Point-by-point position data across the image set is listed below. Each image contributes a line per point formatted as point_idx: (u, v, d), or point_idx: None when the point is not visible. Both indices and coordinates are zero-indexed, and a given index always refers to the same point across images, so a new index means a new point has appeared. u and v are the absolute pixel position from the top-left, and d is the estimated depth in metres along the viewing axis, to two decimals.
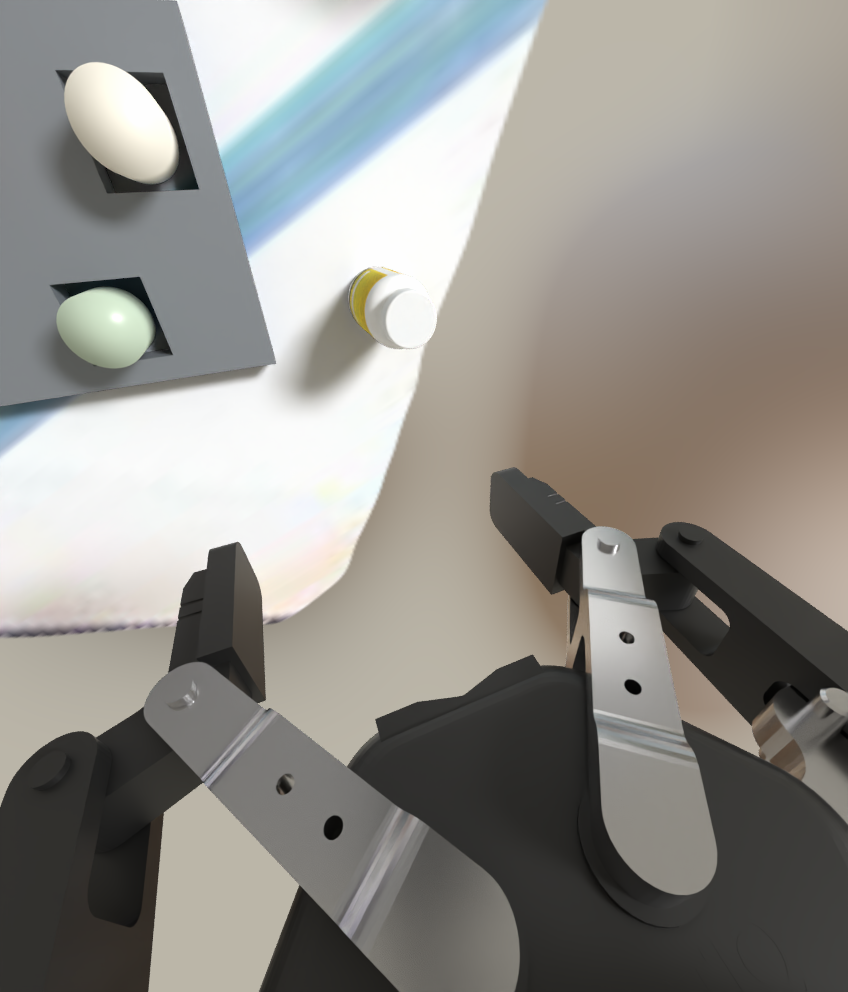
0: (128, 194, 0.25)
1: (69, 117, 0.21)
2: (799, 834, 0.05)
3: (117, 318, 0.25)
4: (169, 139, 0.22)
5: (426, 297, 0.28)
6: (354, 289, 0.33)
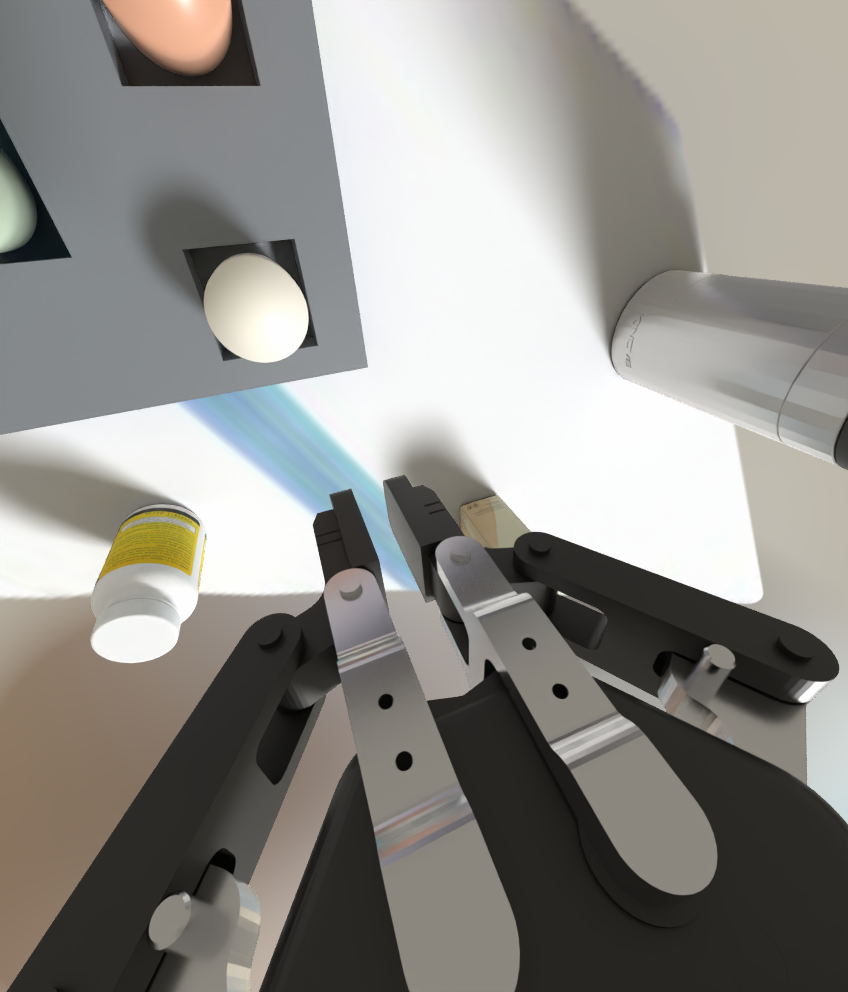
0: (190, 277, 0.20)
1: (249, 256, 0.18)
2: (790, 826, 0.05)
3: None
4: (259, 361, 0.20)
5: (173, 643, 0.23)
6: (166, 520, 0.26)
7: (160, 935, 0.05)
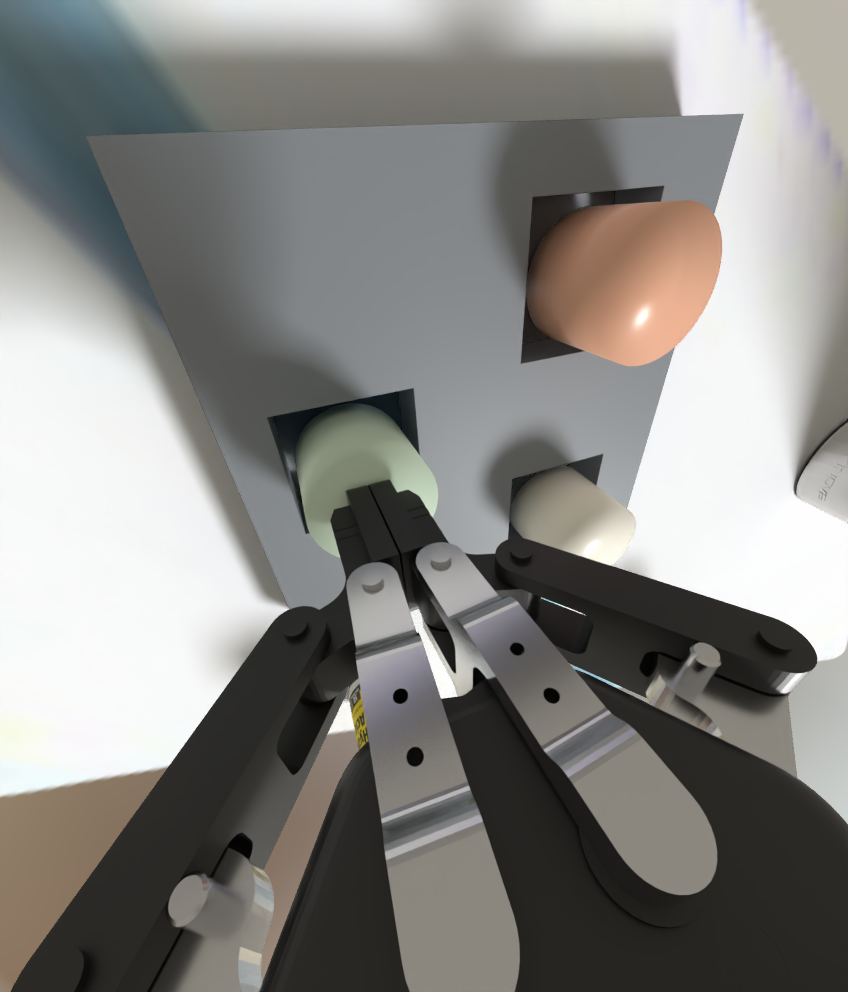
0: (509, 498, 0.20)
1: (606, 505, 0.18)
2: (788, 825, 0.05)
3: None
4: None
5: None
6: None
7: (178, 913, 0.05)
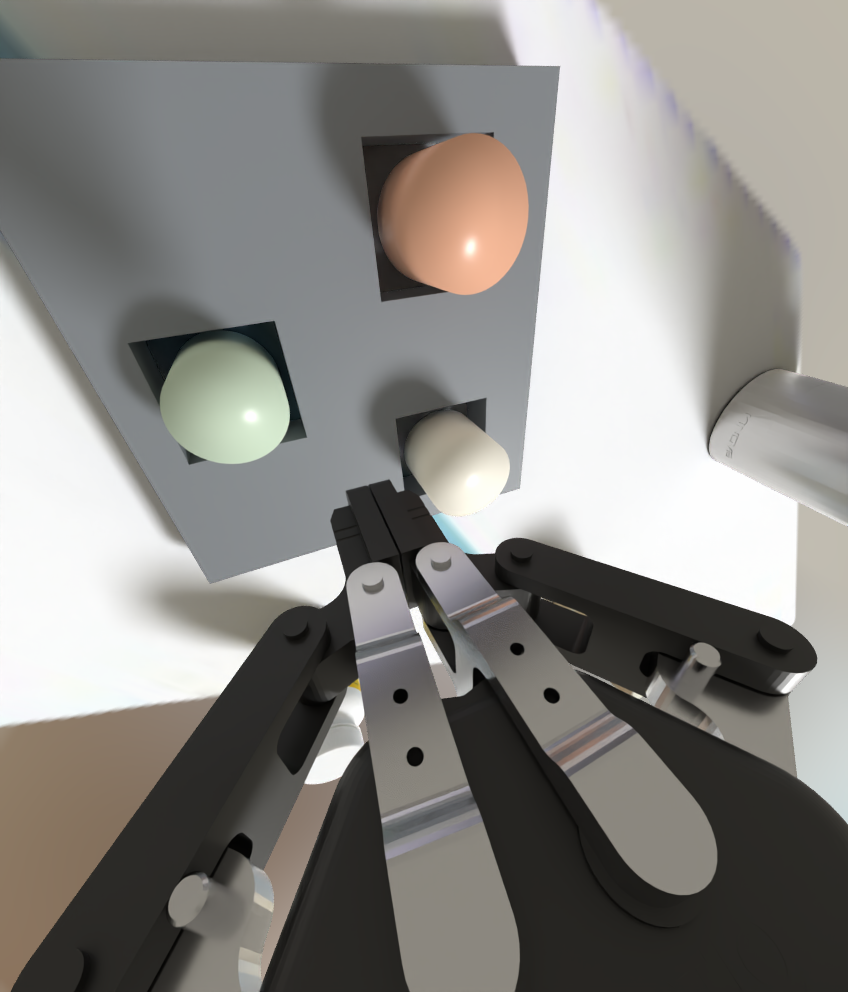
0: (396, 438, 0.21)
1: (474, 438, 0.19)
2: (788, 825, 0.05)
3: (257, 435, 0.16)
4: (459, 514, 0.21)
5: None
6: None
7: (178, 912, 0.05)
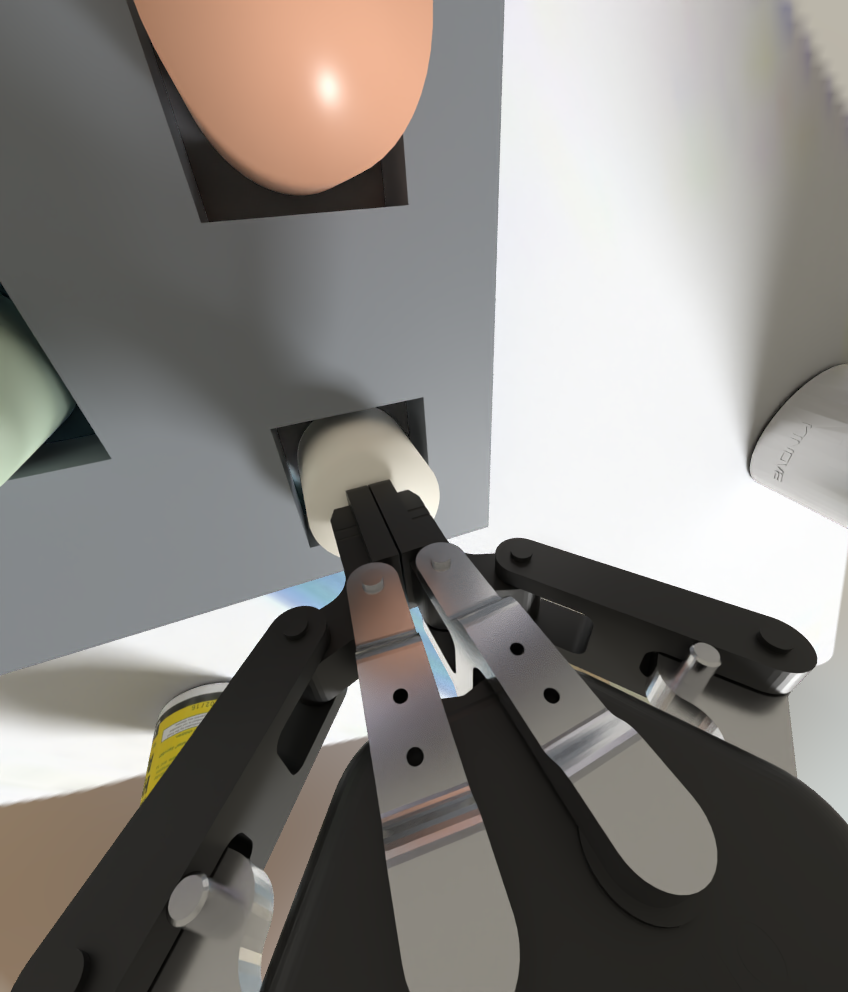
0: (277, 460, 0.14)
1: (374, 446, 0.12)
2: (788, 825, 0.05)
3: None
4: None
5: None
6: None
7: (178, 913, 0.05)
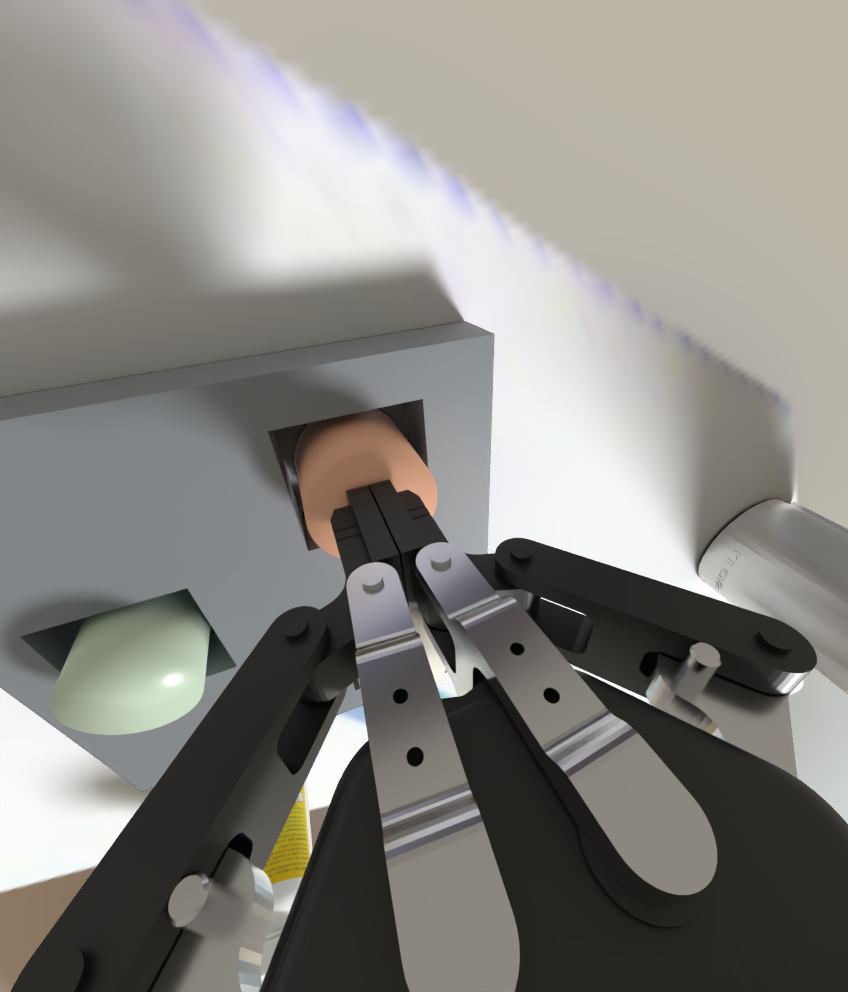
0: None
1: None
2: (788, 824, 0.05)
3: (169, 705, 0.15)
4: None
5: None
6: None
7: (179, 913, 0.05)
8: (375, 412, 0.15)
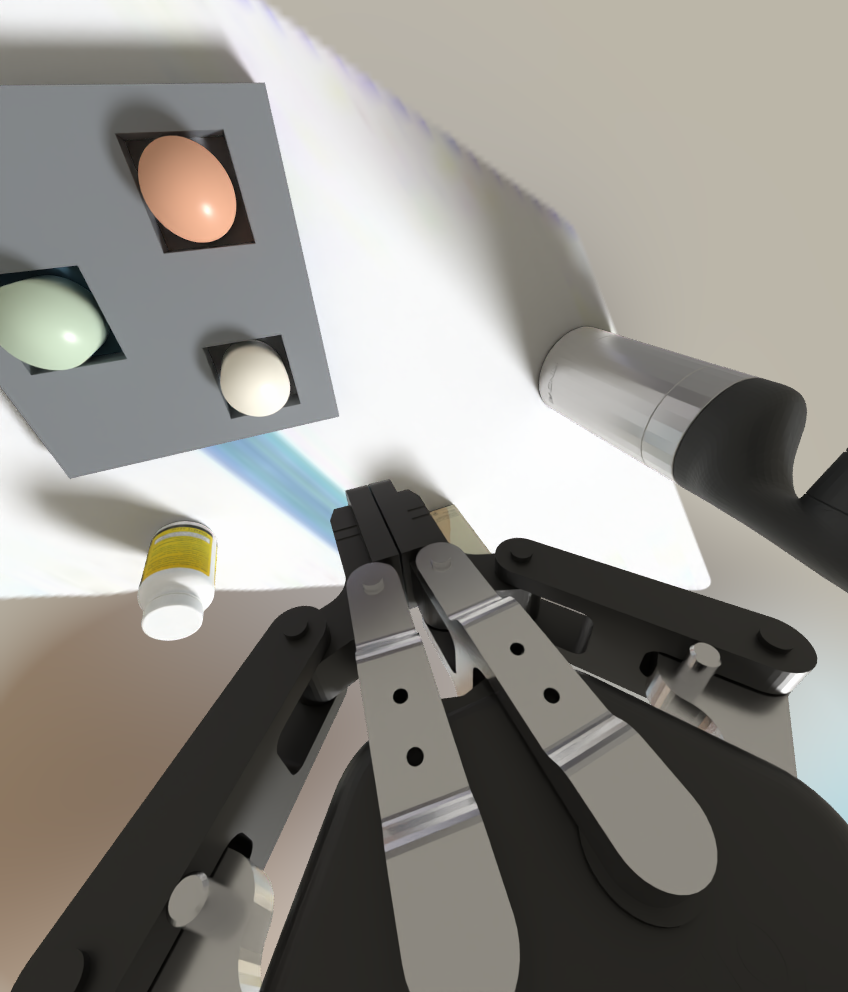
0: (207, 365, 0.28)
1: (249, 352, 0.27)
2: (788, 825, 0.05)
3: (69, 348, 0.23)
4: (257, 415, 0.29)
5: (199, 626, 0.31)
6: (188, 534, 0.34)
7: (179, 913, 0.05)
8: None
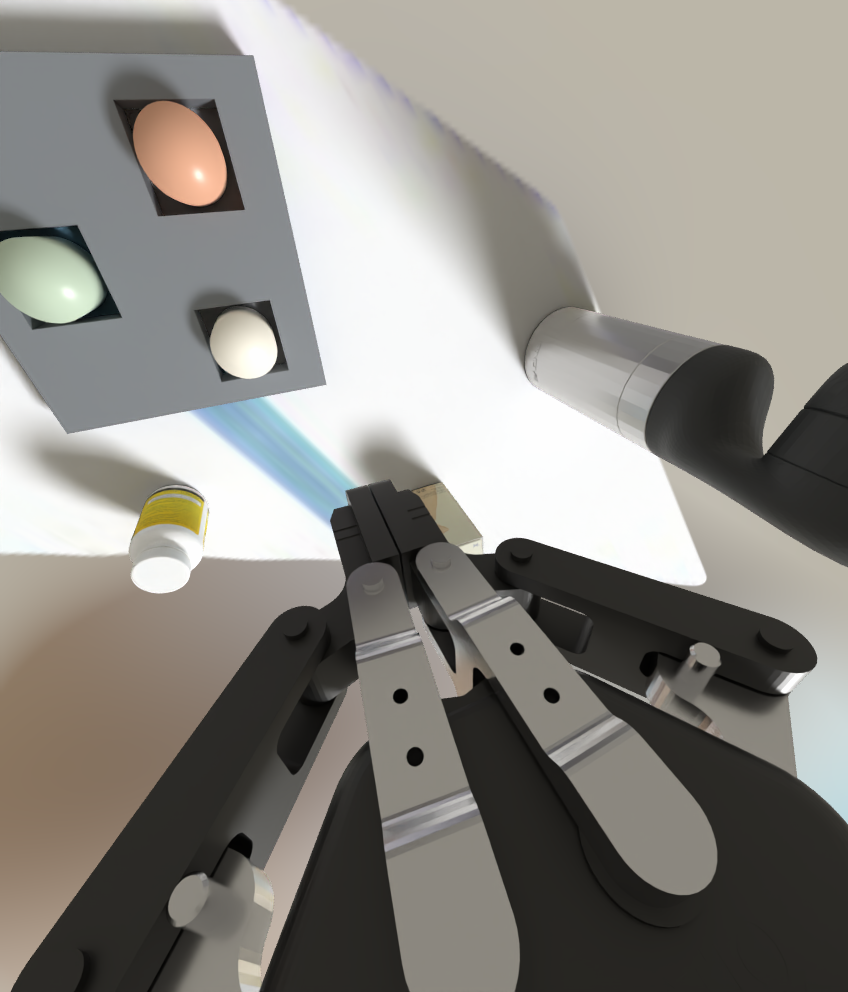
0: (198, 327, 0.29)
1: (238, 314, 0.28)
2: (788, 825, 0.05)
3: (67, 302, 0.25)
4: (245, 377, 0.31)
5: (186, 580, 0.32)
6: (180, 496, 0.36)
7: (178, 913, 0.05)
8: None
